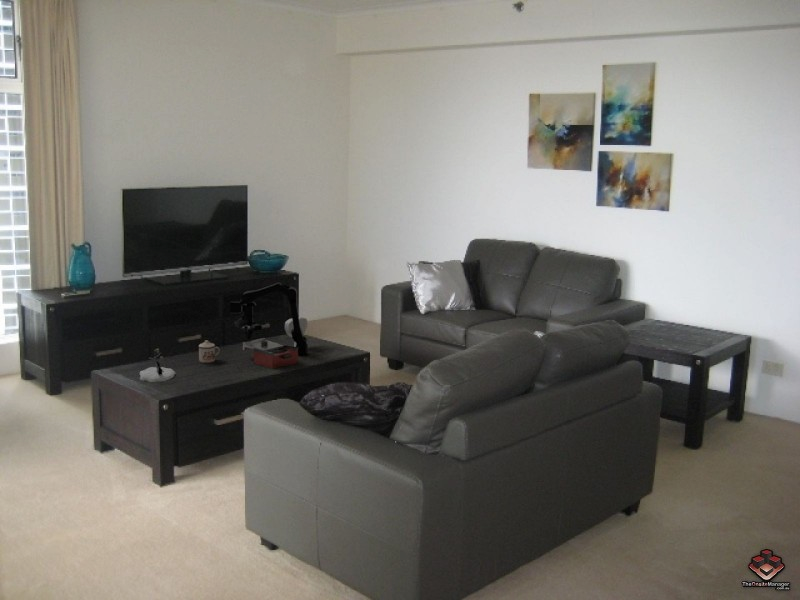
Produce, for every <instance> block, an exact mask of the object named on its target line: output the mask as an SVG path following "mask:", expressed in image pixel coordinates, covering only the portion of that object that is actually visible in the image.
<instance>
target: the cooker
mask: <svg viewBox="0 0 800 600" xmlns="http://www.w3.org/2000/svg"><path fill="white" fill-rule="evenodd" d="M277 343H278V344H281V345H285V347H283V348H278V349H274V350H270V351H265V350H261V349H258V348H254V349H253V363H254V364H256V365H259V366H263V367H266V368H269V369H272V370H273V369H278V368H280V367H285V366H289V365H292V364H296V363H299V355H298V348H297V347H294V345H290V344H286V343H283V342H277Z"/></svg>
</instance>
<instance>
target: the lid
mask: <svg viewBox="0 0 800 600" xmlns="http://www.w3.org/2000/svg"><path fill="white" fill-rule="evenodd" d="M278 343H279V342H274V341H272V340H271V341H270V340H267V339H266V338H265V337H263V338H259V339H258V338H257V339H253V340H248V341H245V342H242V350H243V351H245V350H249V349H252V350H254V348H258V349H261V350H265V351H270V350H274V349H278V348H283V347H285V345H281V344H278Z"/></svg>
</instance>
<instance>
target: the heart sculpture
mask: <svg viewBox="0 0 800 600" xmlns="http://www.w3.org/2000/svg"><path fill="white" fill-rule="evenodd" d="M299 322H300V327H301V329H302V332H303V335H304V333H306V330H307V327H308V319H307V318H306V317H300V316H299ZM292 329H294V327H293V320H292V317H291V318H289V319H287V320H286V321H285V322H284V331H285V333H286V334H287V335H288V336H289V337H290V338H292V334H291V330H292ZM296 344H297V343H296V342H295V341H294V340H293V346H294V347H296Z"/></svg>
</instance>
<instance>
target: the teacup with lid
mask: <svg viewBox="0 0 800 600" xmlns="http://www.w3.org/2000/svg"><path fill="white" fill-rule="evenodd" d="M216 349H217V352H216ZM220 351H221V350H220V348H219V347H218V346H216V345H215V343H212V342H210V341H209V340H204V341H203V342H202V343H200V344H199V345H198V361H199V362H200V363H204V364H209V363H213V362H215V361H216V356H218V355H219V353H220ZM215 352H216V353H215Z"/></svg>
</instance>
